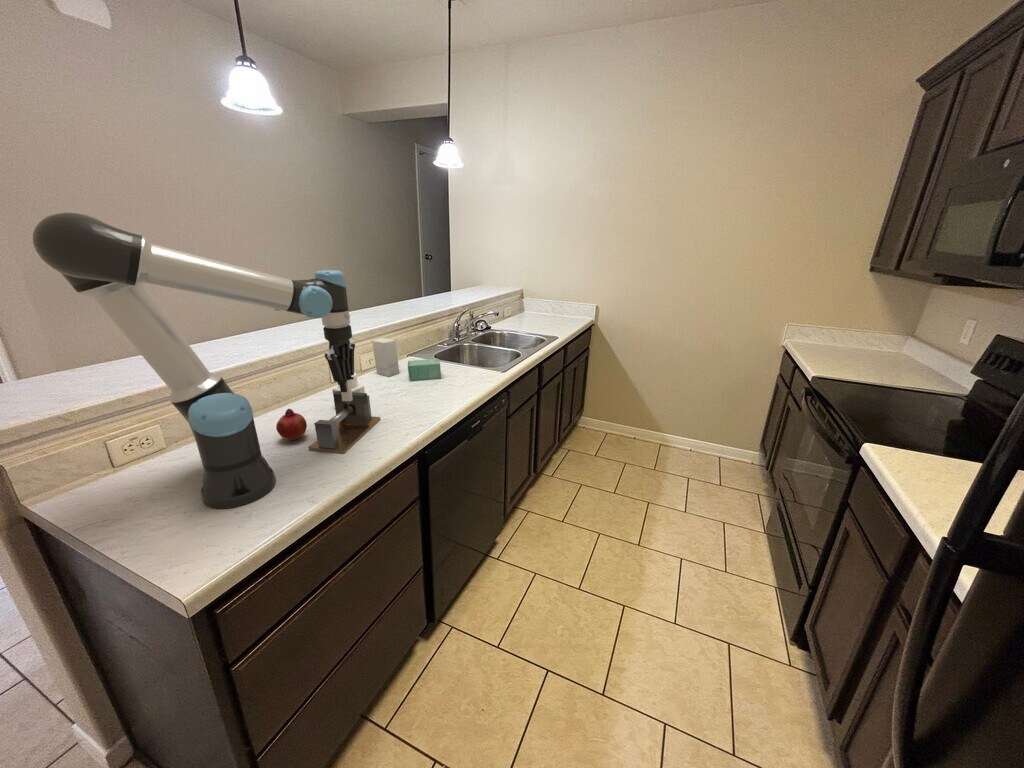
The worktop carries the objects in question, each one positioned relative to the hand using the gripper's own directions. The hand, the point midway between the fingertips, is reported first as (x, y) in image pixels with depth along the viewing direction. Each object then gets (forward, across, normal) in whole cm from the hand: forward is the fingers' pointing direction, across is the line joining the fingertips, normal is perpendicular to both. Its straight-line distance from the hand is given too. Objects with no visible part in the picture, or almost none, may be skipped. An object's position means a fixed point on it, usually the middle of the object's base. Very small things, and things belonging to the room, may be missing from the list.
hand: (347, 400), depth 127 cm
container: (+11, +18, +10) cm, 23 cm away
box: (+11, +53, -5) cm, 54 cm away
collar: (+9, +2, 0) cm, 9 cm away
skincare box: (+11, +55, +13) cm, 57 cm away
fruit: (+11, -8, +14) cm, 20 cm away
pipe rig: (+11, -2, 0) cm, 11 cm away
